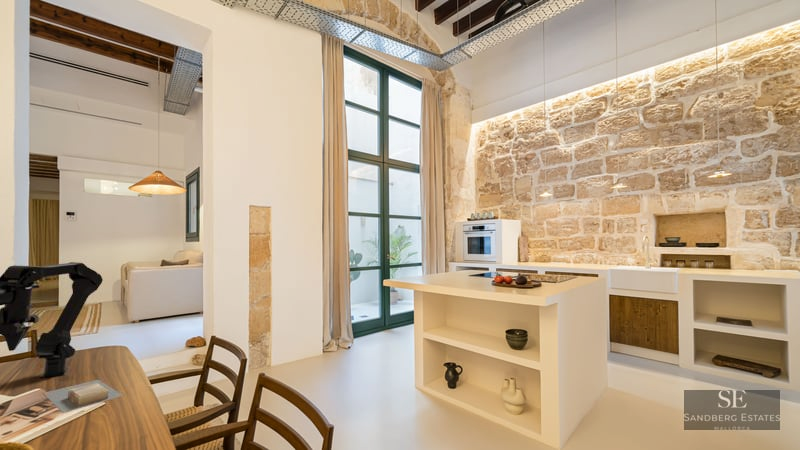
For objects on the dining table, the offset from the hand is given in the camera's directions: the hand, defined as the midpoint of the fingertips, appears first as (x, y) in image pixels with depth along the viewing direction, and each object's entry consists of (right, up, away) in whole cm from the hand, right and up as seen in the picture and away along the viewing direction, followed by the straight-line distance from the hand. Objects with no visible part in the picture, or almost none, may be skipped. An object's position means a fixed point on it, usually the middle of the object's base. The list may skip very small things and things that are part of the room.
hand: (11, 350), depth 109 cm
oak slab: (+26, -12, -2) cm, 29 cm away
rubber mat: (+26, -14, -3) cm, 30 cm away
